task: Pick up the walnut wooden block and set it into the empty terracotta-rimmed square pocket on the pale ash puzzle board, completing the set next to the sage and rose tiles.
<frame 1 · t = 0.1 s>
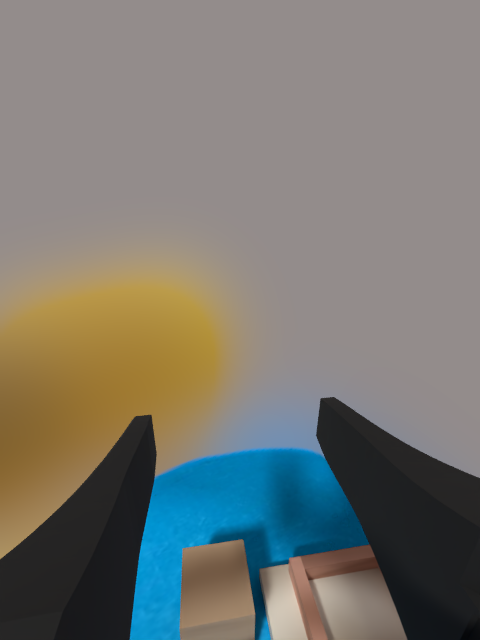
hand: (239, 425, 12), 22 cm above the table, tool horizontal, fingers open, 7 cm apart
walnut block: (216, 622, 23), on the table
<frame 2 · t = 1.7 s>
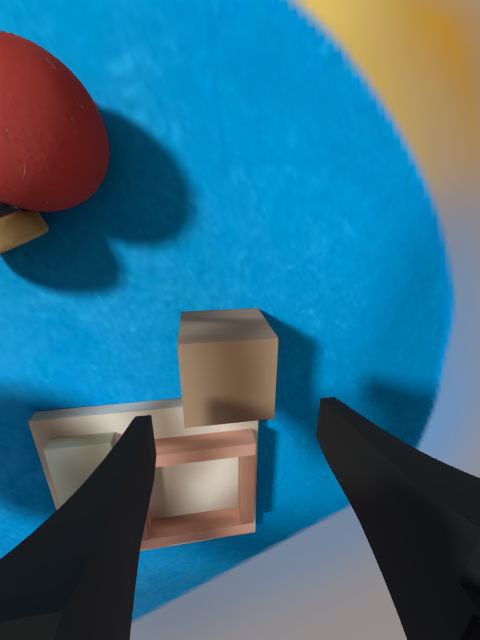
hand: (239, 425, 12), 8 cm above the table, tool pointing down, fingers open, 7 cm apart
walnut block: (221, 344, 19), on the table
puzzle board: (161, 474, 23), on the table
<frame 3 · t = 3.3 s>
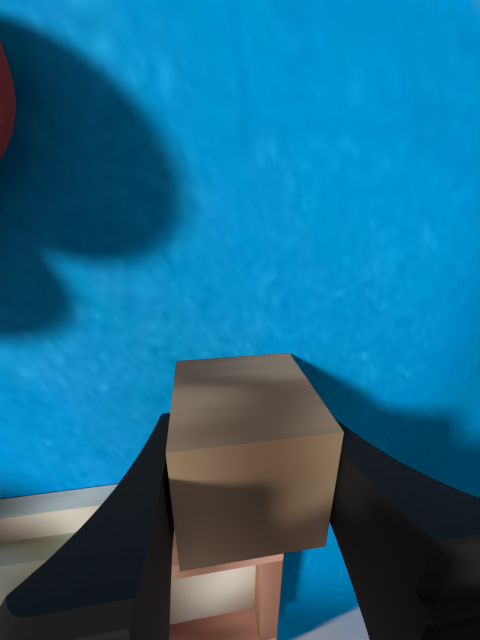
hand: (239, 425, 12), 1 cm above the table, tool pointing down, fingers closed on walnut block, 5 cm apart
walnut block: (234, 404, 13), on the table, touching gripper
puzzle board: (150, 570, 16), on the table
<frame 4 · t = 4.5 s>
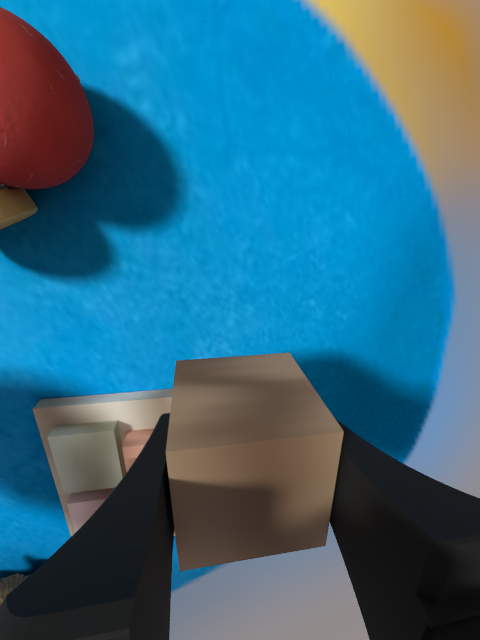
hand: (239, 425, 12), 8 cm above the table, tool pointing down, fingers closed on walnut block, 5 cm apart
eagle figurine: (15, 575, 25), on the table
walnut block: (234, 404, 13), point 7 cm above the table, touching gripper
puzzle board: (163, 464, 23), on the table
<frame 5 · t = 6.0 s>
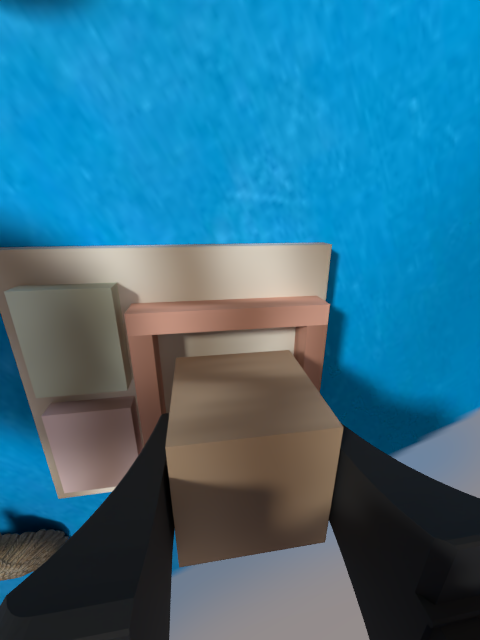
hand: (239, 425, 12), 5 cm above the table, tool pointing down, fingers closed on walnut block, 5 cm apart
walnut block: (234, 401, 13), point 3 cm above the table, touching gripper
puzzle board: (183, 373, 16), on the table
when the fingers open (5 cm above the table, at t = 6.7 s): walnut block drops 2 cm, resting on puzzle board.
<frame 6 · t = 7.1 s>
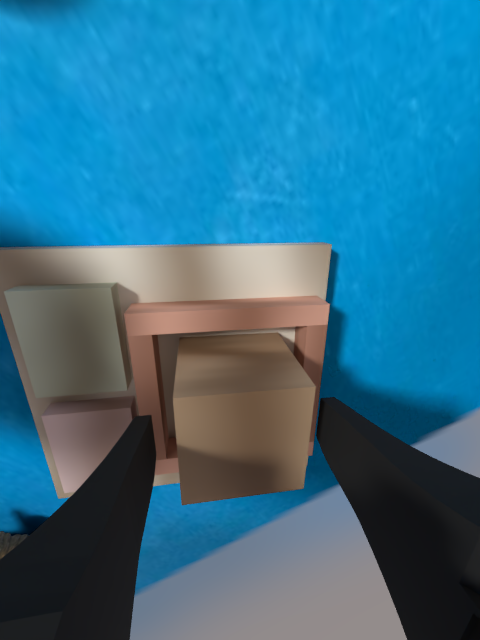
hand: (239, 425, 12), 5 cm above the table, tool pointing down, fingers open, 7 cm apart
eagle figurine: (2, 538, 18), on the table
walnut block: (229, 377, 15), point 1 cm above the table, touching puzzle board
puzzle board: (183, 373, 16), on the table
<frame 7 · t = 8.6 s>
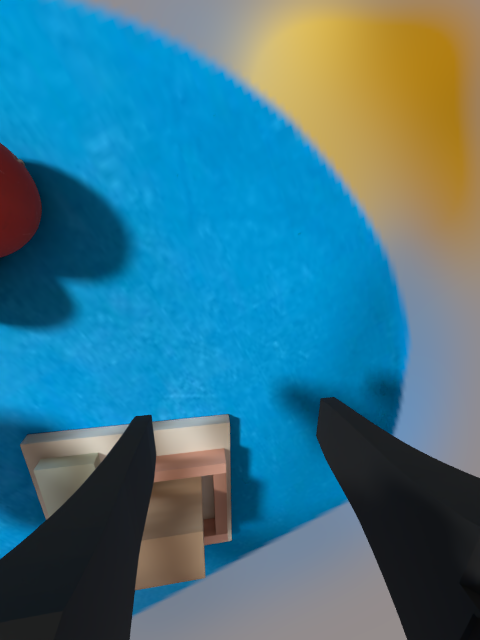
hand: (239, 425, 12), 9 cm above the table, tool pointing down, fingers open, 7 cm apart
walnut block: (172, 494, 24), point 1 cm above the table, touching puzzle board
puzzle board: (143, 489, 25), on the table
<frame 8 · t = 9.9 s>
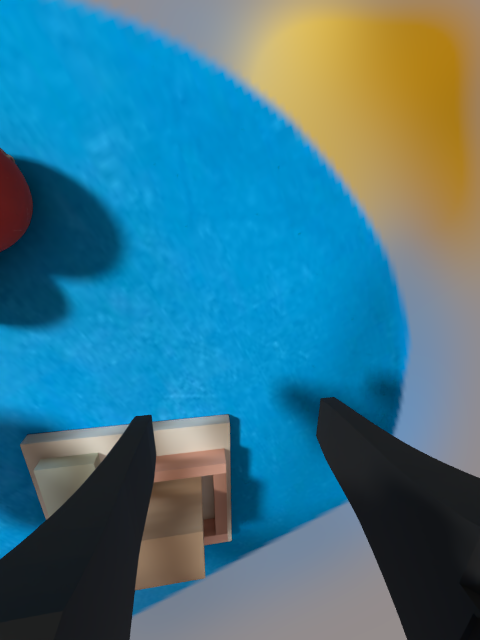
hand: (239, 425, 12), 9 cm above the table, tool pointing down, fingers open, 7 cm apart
walnut block: (172, 494, 24), point 1 cm above the table, touching puzzle board
puzzle board: (143, 489, 25), on the table
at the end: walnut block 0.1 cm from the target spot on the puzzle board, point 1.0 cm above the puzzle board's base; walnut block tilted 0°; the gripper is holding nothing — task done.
